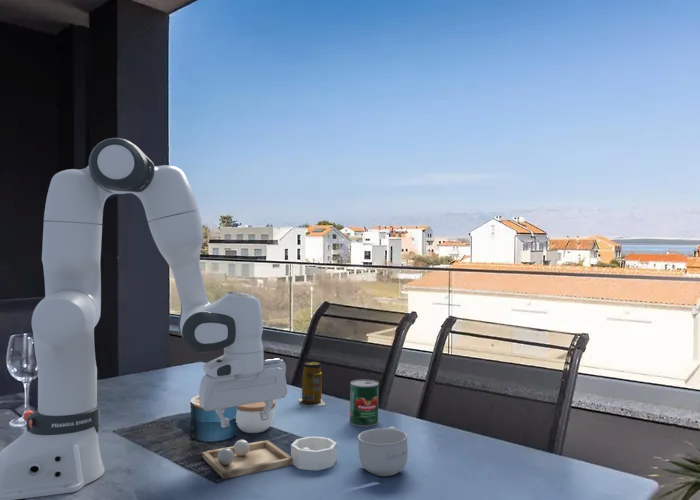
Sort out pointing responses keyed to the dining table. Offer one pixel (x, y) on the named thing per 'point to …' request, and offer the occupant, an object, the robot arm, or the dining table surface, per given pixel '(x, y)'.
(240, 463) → the tray
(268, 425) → the lidded jar
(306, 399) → the condiment
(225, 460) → the pebble
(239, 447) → the pebble
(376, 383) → the canned tomato
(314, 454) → the bowl
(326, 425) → the dining table surface
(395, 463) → the teacup
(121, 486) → the dining table surface
